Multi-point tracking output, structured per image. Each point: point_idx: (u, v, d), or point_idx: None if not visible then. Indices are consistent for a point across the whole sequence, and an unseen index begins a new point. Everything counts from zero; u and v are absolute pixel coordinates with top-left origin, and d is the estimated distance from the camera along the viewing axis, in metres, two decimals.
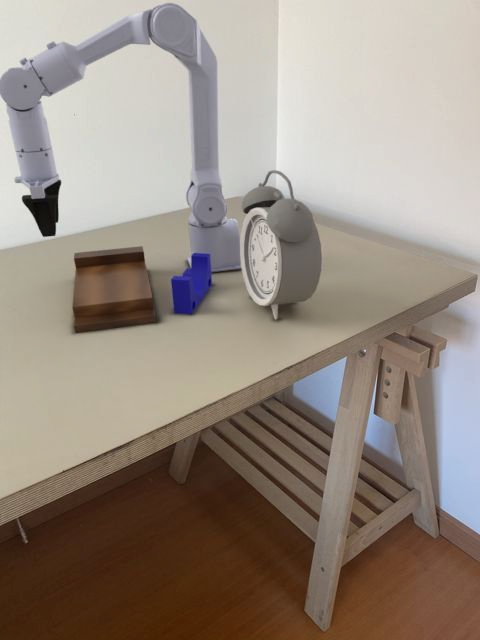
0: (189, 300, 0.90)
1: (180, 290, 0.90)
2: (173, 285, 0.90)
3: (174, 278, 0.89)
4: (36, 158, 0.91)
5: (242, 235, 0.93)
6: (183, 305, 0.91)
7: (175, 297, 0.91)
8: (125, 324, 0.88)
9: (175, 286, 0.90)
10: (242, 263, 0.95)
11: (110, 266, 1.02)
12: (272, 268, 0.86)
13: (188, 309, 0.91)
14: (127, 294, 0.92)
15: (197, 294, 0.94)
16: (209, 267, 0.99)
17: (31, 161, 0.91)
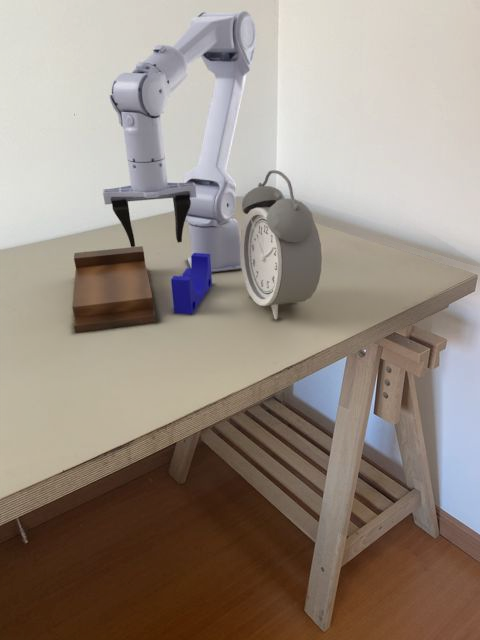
0: (189, 300, 0.90)
1: (180, 290, 0.90)
2: (173, 285, 0.90)
3: (174, 278, 0.89)
4: None
5: (242, 235, 0.93)
6: (183, 305, 0.91)
7: (175, 297, 0.91)
8: (125, 324, 0.88)
9: (175, 286, 0.90)
10: (242, 263, 0.95)
11: (110, 266, 1.02)
12: (272, 268, 0.86)
13: (188, 309, 0.91)
14: (127, 294, 0.92)
15: (197, 294, 0.94)
16: (209, 267, 0.99)
17: (165, 167, 0.88)
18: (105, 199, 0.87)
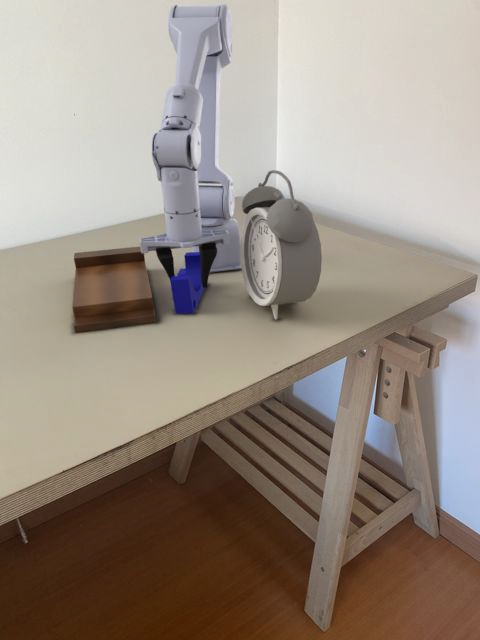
0: (190, 299, 0.90)
1: (179, 289, 0.90)
2: (172, 285, 0.89)
3: (173, 279, 0.89)
4: None
5: (242, 235, 0.93)
6: (184, 305, 0.91)
7: (175, 297, 0.91)
8: (125, 324, 0.88)
9: (175, 286, 0.89)
10: (242, 263, 0.95)
11: (110, 266, 1.02)
12: (272, 268, 0.86)
13: (189, 308, 0.91)
14: (127, 294, 0.92)
15: (196, 292, 0.94)
16: None
17: (200, 217, 0.90)
18: (142, 248, 0.90)
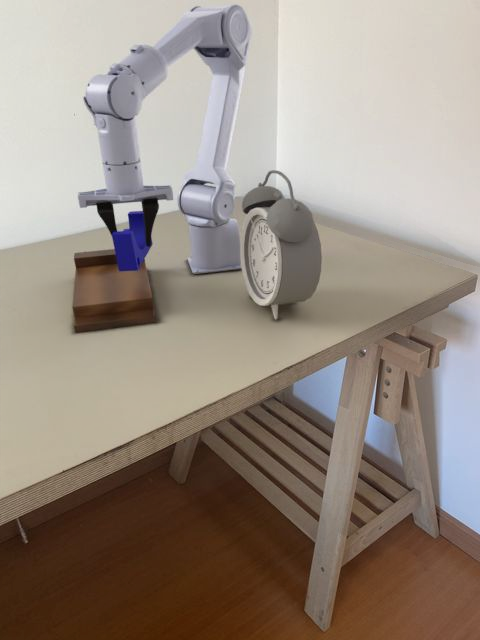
0: (133, 255, 0.87)
1: (122, 245, 0.86)
2: (115, 241, 0.86)
3: (115, 234, 0.86)
4: None
5: (242, 235, 0.93)
6: (128, 262, 0.88)
7: (118, 254, 0.87)
8: (125, 324, 0.88)
9: (117, 242, 0.86)
10: (242, 263, 0.95)
11: (110, 266, 1.02)
12: (272, 268, 0.86)
13: (133, 265, 0.88)
14: (127, 294, 0.92)
15: (140, 250, 0.91)
16: None
17: (141, 170, 0.87)
18: (80, 202, 0.86)
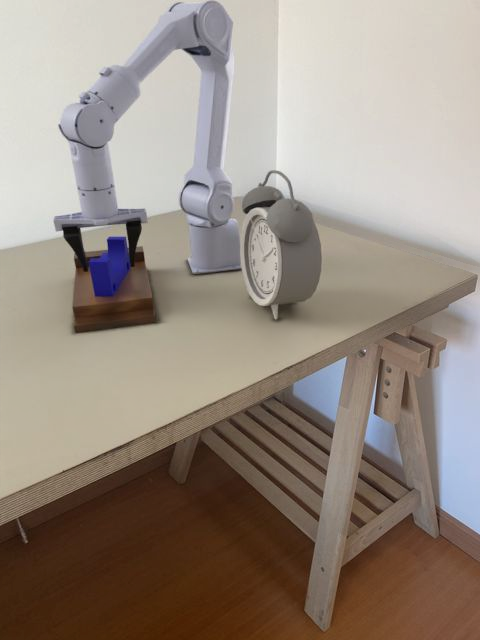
0: (109, 282, 0.90)
1: (98, 272, 0.89)
2: (91, 267, 0.89)
3: (91, 261, 0.88)
4: None
5: (242, 235, 0.93)
6: (103, 288, 0.90)
7: (94, 280, 0.90)
8: (125, 324, 0.88)
9: (93, 268, 0.89)
10: (242, 263, 0.95)
11: None
12: (272, 268, 0.86)
13: (109, 291, 0.91)
14: (127, 294, 0.92)
15: (117, 276, 0.93)
16: (126, 250, 0.99)
17: (115, 194, 0.89)
18: (56, 226, 0.89)
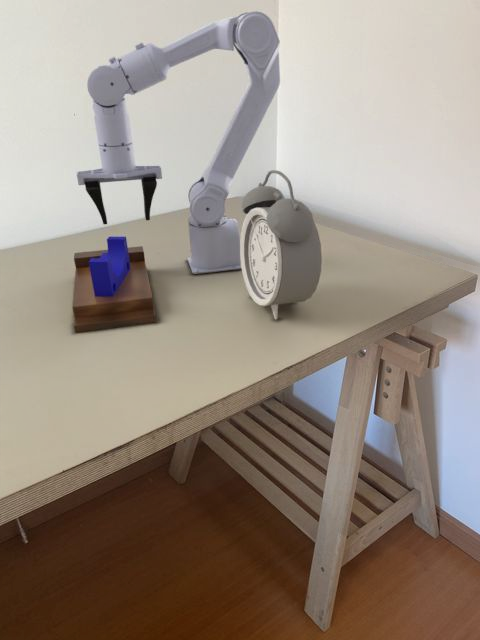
0: (109, 282, 0.90)
1: (98, 272, 0.89)
2: (91, 267, 0.89)
3: (91, 261, 0.88)
4: None
5: (242, 235, 0.93)
6: (103, 288, 0.90)
7: (94, 280, 0.90)
8: (125, 324, 0.88)
9: (93, 268, 0.89)
10: (242, 263, 0.95)
11: None
12: (272, 268, 0.86)
13: (109, 291, 0.91)
14: (127, 294, 0.92)
15: (117, 276, 0.93)
16: (126, 250, 0.99)
17: None
18: (79, 180, 0.97)
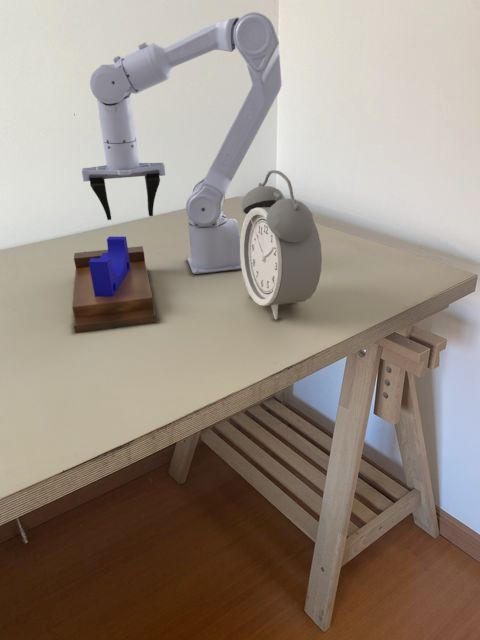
0: (109, 282, 0.90)
1: (98, 272, 0.89)
2: (91, 267, 0.89)
3: (91, 261, 0.88)
4: None
5: (242, 235, 0.93)
6: (103, 288, 0.90)
7: (94, 280, 0.90)
8: (125, 324, 0.88)
9: (93, 268, 0.89)
10: (242, 263, 0.95)
11: None
12: (272, 268, 0.86)
13: (109, 291, 0.91)
14: (127, 294, 0.92)
15: (117, 276, 0.93)
16: (126, 250, 0.99)
17: None
18: (84, 176, 0.99)
